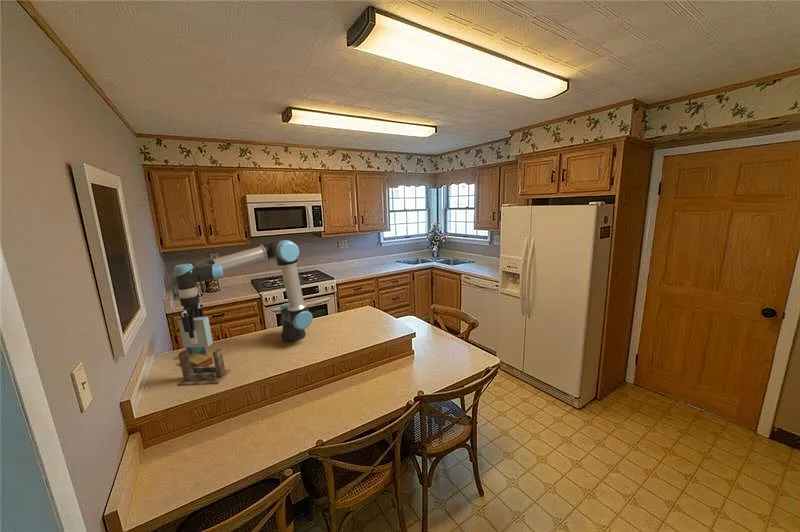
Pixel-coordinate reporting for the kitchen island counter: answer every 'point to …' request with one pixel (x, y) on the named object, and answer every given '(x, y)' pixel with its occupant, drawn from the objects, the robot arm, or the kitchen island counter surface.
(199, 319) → the door panel
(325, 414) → the kitchen island counter surface
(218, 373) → the track frame
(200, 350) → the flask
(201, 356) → the carton
